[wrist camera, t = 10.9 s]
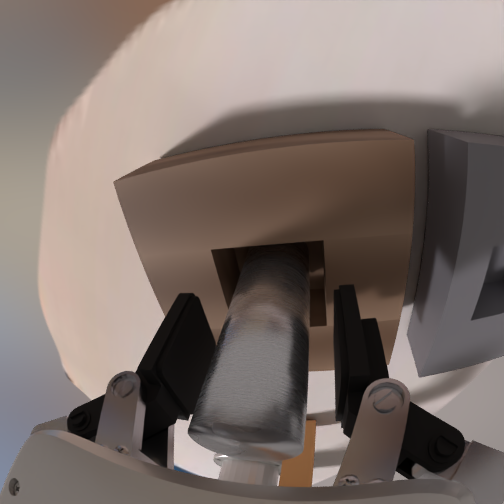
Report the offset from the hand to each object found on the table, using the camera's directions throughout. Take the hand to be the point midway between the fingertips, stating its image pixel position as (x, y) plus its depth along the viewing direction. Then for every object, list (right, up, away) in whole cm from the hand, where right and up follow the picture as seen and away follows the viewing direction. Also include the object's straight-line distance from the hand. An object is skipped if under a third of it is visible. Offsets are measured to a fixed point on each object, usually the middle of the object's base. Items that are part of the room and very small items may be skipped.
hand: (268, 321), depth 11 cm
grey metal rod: (+1, +2, +4) cm, 5 cm away
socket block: (+1, +3, +5) cm, 6 cm away
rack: (+14, +3, +3) cm, 14 cm away
